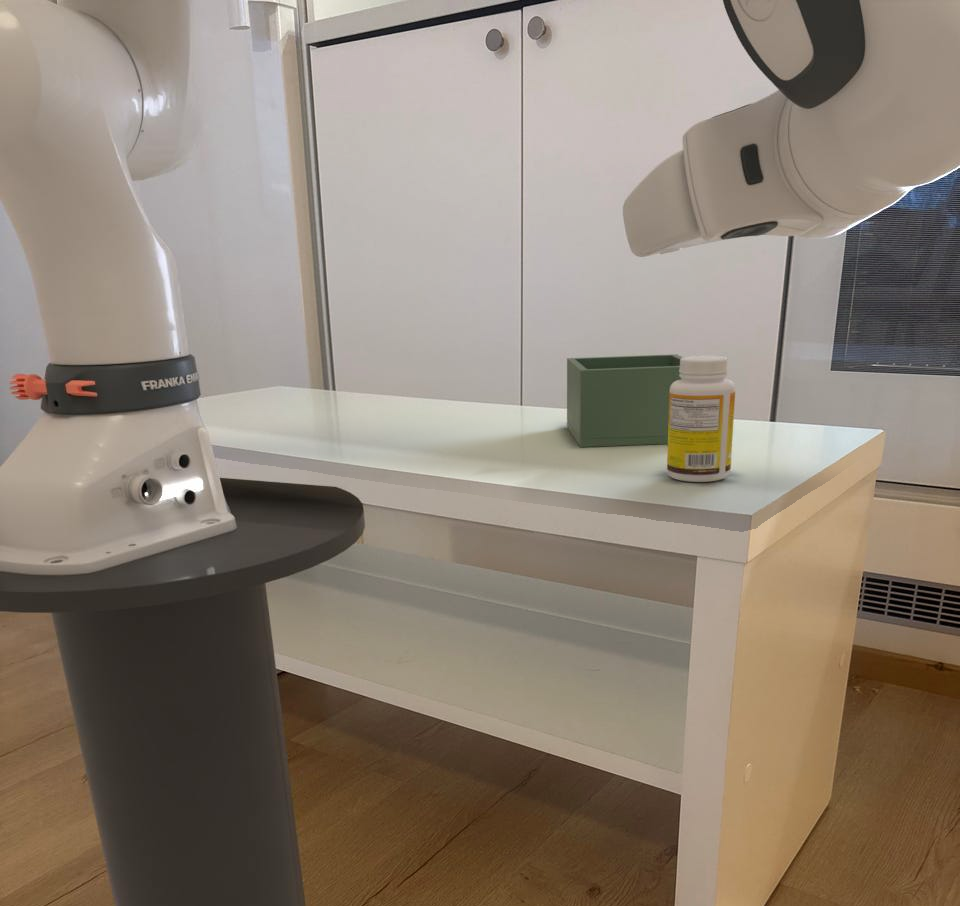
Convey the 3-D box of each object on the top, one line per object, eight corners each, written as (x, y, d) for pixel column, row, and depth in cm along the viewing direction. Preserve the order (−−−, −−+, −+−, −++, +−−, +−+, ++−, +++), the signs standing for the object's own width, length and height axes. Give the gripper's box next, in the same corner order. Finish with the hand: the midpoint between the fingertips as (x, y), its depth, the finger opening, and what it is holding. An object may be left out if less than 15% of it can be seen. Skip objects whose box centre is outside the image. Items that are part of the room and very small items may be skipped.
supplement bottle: (700, 467, 88) (706, 353, 84) (743, 478, 83) (752, 357, 79) (653, 475, 85) (657, 358, 81) (694, 486, 81) (701, 362, 77)
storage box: (699, 442, 99) (704, 365, 96) (580, 447, 99) (580, 370, 96) (673, 423, 111) (676, 354, 108) (566, 427, 111) (567, 358, 108)
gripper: (967, 73, 58) (837, 162, 72) (666, 128, 55) (588, 211, 68) (983, 178, 59) (852, 246, 73) (688, 239, 56) (607, 299, 69)
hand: (722, 229), depth 71 cm, fingers open, 8 cm apart
